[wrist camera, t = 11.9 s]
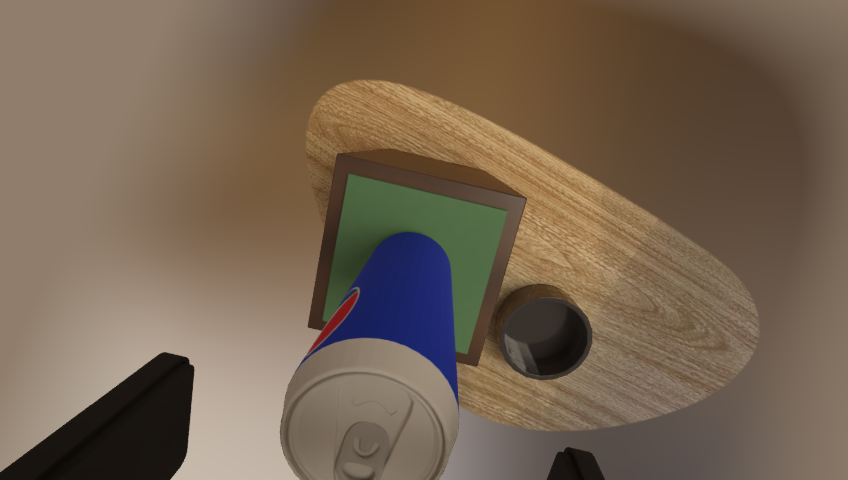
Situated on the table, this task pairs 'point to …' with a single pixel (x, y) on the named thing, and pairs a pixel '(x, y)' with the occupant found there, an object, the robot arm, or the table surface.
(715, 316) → the table surface
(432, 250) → the beverage can
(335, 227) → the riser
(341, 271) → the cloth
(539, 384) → the table surface
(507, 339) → the bowl
